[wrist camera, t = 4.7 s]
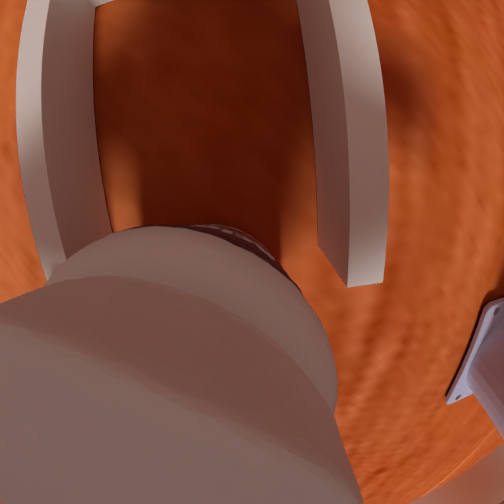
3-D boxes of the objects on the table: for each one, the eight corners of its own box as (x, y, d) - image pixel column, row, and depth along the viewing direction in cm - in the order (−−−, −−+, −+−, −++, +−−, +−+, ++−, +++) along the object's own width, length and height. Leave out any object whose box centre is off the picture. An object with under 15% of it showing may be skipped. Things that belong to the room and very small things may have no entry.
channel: (314, -42, 6) (336, -86, 3) (345, 243, 10) (382, 282, 7) (75, -2, 6) (35, -29, 3) (97, 267, 10) (57, 308, 7)
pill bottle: (313, 298, 9) (477, 501, 1) (211, 380, 10) (172, 599, 1) (216, 191, 9) (39, 26, 1) (119, 287, 9) (-79, 411, 1)
